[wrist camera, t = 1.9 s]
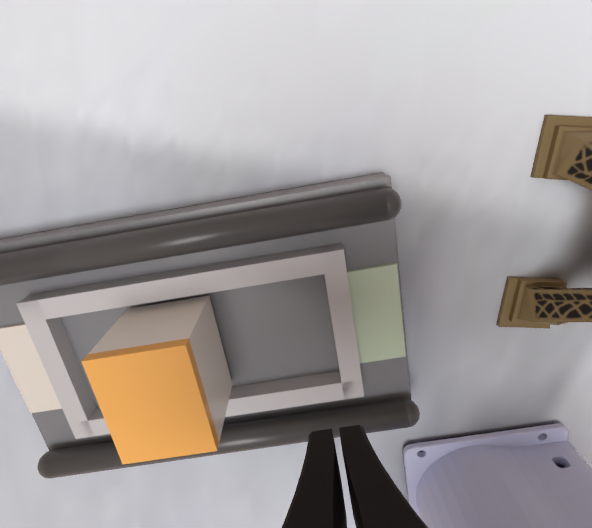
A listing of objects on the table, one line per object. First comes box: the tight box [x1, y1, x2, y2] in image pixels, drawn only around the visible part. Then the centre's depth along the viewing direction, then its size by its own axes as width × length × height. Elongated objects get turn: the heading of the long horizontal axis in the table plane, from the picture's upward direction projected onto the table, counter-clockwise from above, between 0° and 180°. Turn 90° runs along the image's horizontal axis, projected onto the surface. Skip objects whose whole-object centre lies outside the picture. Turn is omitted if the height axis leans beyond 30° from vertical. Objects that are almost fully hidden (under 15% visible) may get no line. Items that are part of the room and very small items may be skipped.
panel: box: [0, 173, 420, 478], centre depth 21 cm, size 20×13×3 cm, turn 100°
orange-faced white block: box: [81, 296, 232, 464], centre depth 18 cm, size 4×5×4 cm
